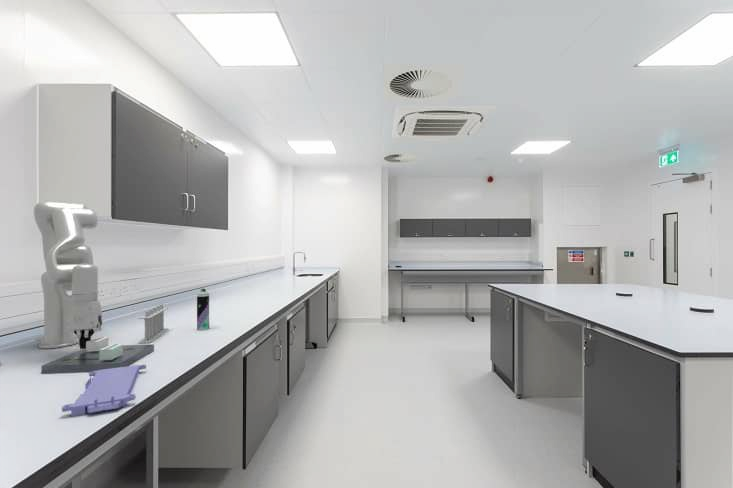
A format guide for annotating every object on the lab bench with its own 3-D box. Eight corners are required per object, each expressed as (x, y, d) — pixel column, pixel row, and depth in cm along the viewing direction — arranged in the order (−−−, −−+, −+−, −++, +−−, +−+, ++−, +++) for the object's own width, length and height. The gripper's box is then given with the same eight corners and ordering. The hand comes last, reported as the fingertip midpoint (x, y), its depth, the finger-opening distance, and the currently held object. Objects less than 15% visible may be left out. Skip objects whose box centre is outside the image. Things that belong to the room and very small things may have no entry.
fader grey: (86, 351, 127) (86, 341, 127) (97, 346, 133) (97, 337, 133) (97, 351, 128) (97, 340, 128) (108, 346, 134) (108, 336, 134)
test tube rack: (150, 343, 149) (150, 312, 149) (138, 344, 148) (138, 312, 148) (168, 329, 173) (168, 303, 173) (158, 330, 172) (158, 303, 172)
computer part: (58, 423, 82) (133, 409, 89) (58, 405, 82) (133, 392, 89) (90, 379, 109) (146, 371, 116) (90, 366, 109) (146, 359, 116)
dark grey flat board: (41, 373, 114) (41, 365, 114) (88, 352, 135) (88, 346, 135) (120, 370, 116) (120, 362, 116) (154, 350, 138) (153, 344, 138)
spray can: (197, 330, 170) (197, 289, 170) (196, 328, 175) (196, 288, 175) (209, 329, 172) (209, 288, 173) (208, 327, 177) (208, 287, 177)
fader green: (99, 360, 118) (99, 349, 118) (110, 354, 124) (110, 344, 124) (112, 359, 118) (112, 348, 118) (122, 354, 124) (122, 343, 124)
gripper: (55, 300, 126) (55, 351, 126) (99, 299, 127) (99, 350, 127) (71, 297, 133) (71, 345, 133) (112, 296, 135) (112, 344, 134)
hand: (85, 347), depth 130 cm, fingers closed
